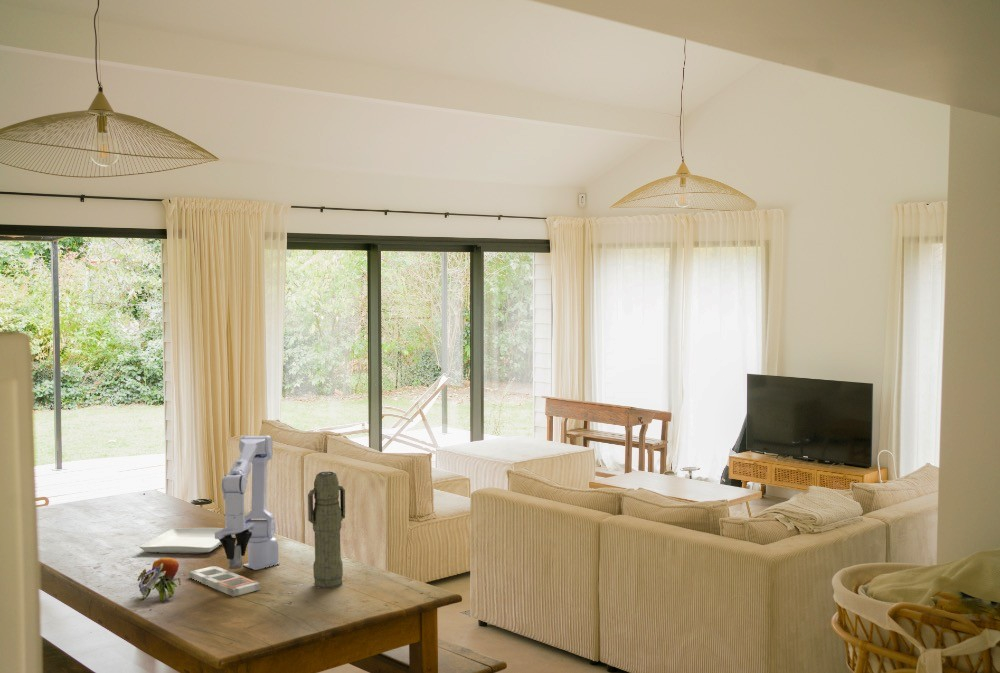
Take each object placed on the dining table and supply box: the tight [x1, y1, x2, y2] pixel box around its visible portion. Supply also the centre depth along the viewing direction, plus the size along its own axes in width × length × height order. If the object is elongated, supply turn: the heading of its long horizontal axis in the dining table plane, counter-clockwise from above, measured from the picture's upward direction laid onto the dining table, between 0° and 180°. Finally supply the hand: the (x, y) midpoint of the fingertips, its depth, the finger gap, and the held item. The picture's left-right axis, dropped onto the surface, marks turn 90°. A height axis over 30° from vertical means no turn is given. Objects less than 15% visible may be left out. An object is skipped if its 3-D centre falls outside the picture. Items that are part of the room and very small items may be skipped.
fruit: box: [151, 557, 180, 581], centre depth 296 cm, size 8×8×8 cm
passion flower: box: [137, 563, 182, 602], centre depth 278 cm, size 11×11×12 cm
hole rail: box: [188, 565, 261, 597], centre depth 290 cm, size 9×28×2 cm, turn 45°
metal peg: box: [227, 542, 243, 570], centre depth 284 cm, size 4×4×7 cm
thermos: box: [307, 471, 346, 589], centre depth 287 cm, size 9×12×35 cm
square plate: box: [139, 527, 236, 554], centre depth 336 cm, size 27×27×4 cm
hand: (235, 557), depth 284 cm, fingers closed on metal peg, 4 cm apart
